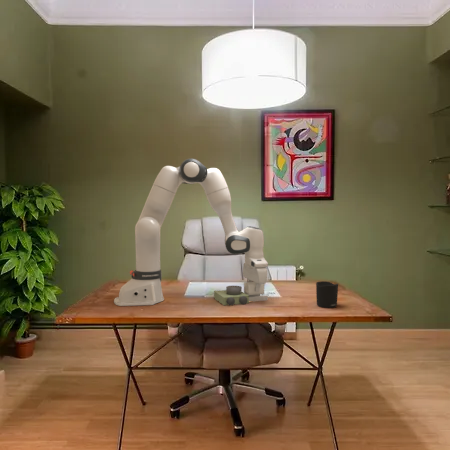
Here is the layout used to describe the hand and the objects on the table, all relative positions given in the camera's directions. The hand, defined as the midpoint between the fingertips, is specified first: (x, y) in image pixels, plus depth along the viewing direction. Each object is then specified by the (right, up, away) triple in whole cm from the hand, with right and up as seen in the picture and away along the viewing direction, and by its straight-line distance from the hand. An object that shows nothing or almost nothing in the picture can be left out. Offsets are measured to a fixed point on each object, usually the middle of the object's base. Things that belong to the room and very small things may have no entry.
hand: (254, 290), depth 193 cm
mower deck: (-6, -4, -2) cm, 8 cm away
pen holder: (+31, -5, -12) cm, 34 cm away
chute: (0, -2, 0) cm, 2 cm away
